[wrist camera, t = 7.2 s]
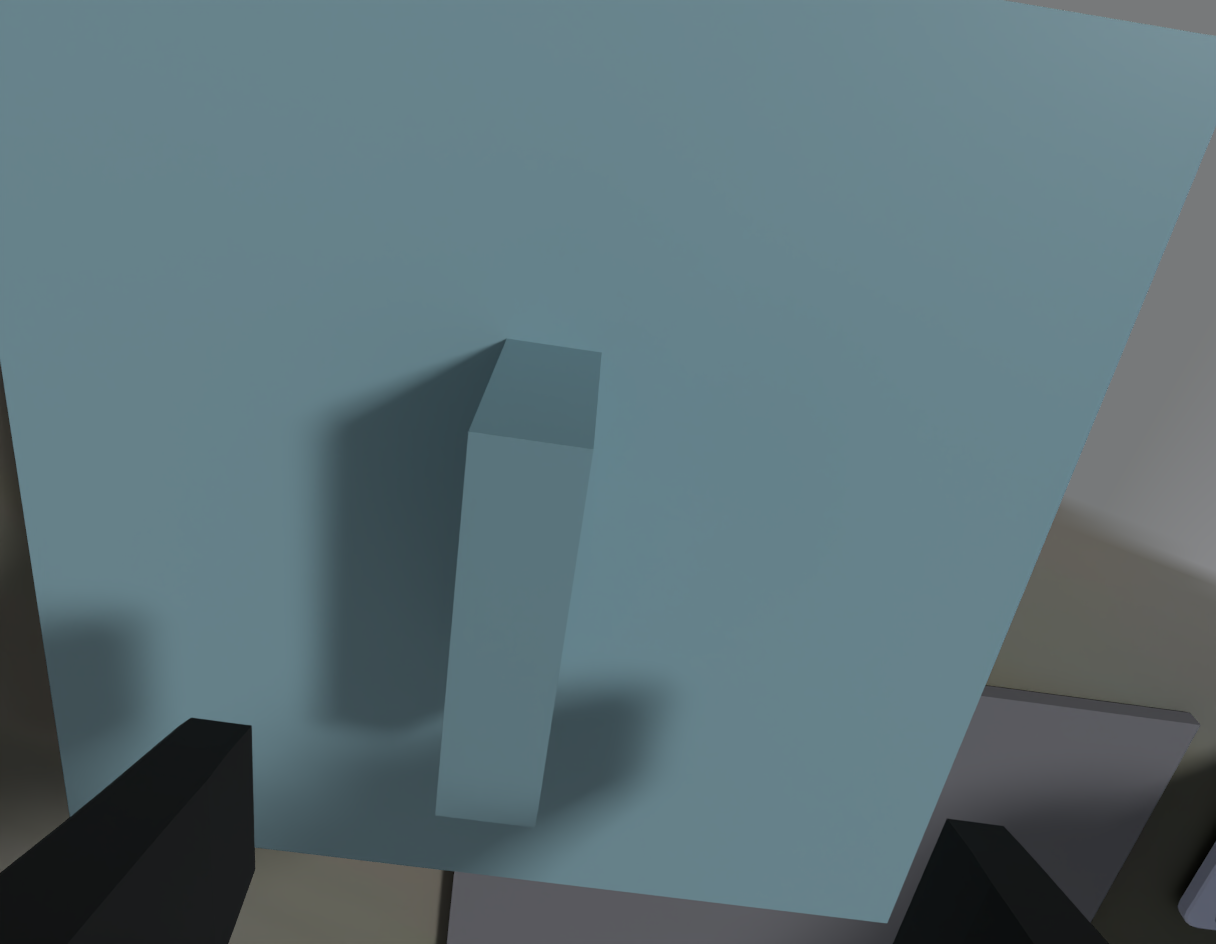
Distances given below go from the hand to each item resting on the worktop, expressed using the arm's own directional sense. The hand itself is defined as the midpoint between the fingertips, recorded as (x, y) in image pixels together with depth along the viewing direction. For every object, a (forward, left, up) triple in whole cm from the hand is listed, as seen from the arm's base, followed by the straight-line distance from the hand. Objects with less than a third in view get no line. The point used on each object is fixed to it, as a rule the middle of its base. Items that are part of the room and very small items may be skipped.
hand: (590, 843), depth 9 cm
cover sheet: (+1, -2, -5) cm, 5 cm away
